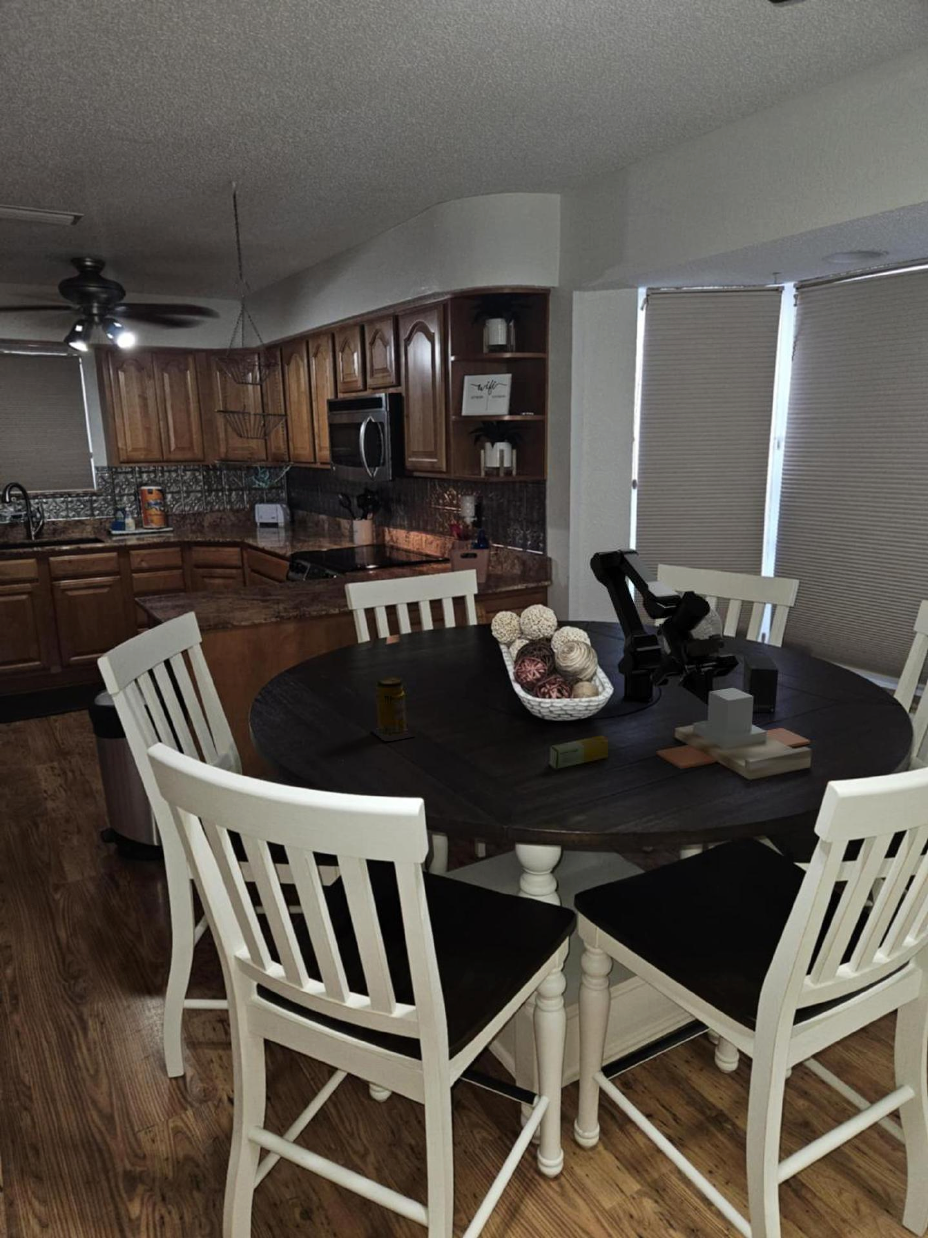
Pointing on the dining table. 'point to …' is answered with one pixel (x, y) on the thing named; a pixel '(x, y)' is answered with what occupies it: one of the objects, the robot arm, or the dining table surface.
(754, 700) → the small box
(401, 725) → the condiment
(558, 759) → the medication box
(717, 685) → the dining table surface
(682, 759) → the pad
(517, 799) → the dining table surface
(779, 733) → the pad
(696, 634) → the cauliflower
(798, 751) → the birch board
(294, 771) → the dining table surface
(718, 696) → the stepped block
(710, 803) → the dining table surface
